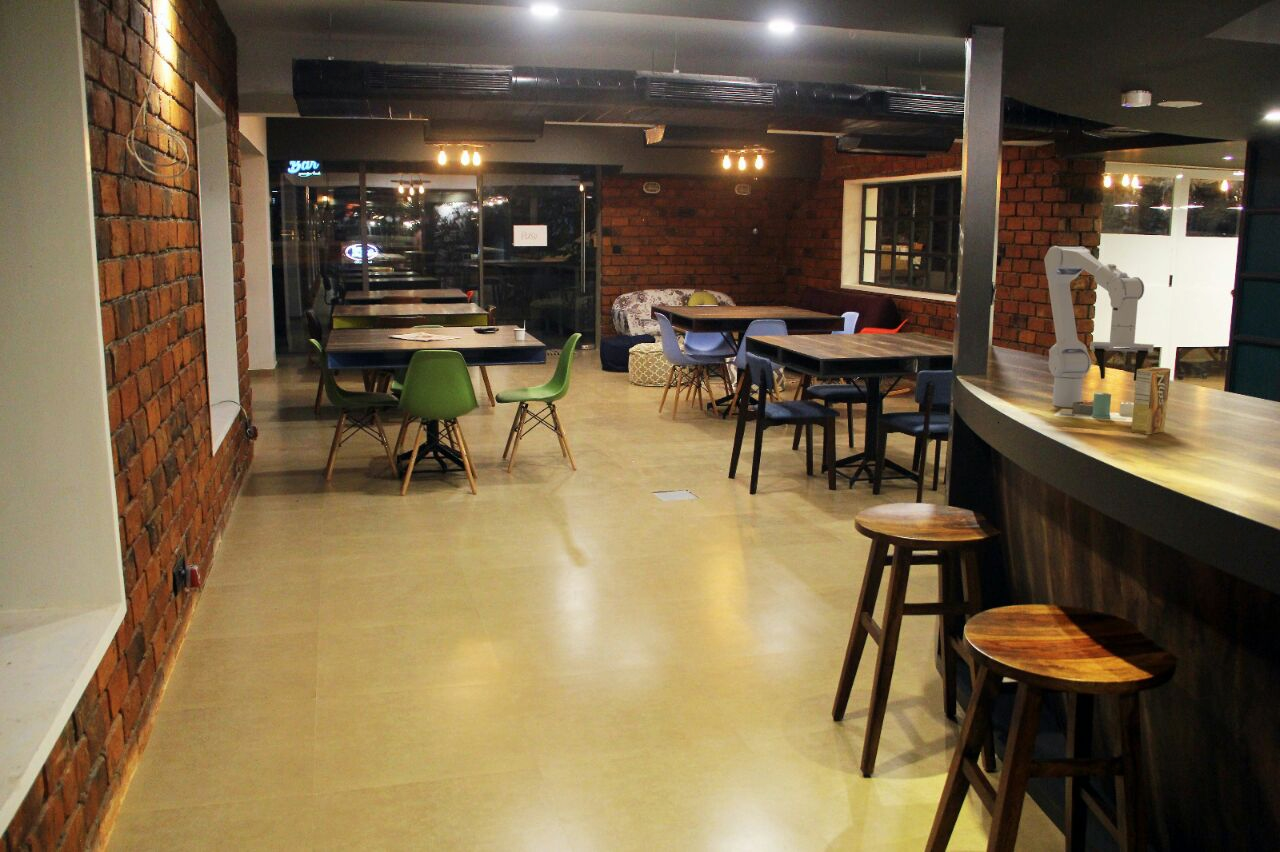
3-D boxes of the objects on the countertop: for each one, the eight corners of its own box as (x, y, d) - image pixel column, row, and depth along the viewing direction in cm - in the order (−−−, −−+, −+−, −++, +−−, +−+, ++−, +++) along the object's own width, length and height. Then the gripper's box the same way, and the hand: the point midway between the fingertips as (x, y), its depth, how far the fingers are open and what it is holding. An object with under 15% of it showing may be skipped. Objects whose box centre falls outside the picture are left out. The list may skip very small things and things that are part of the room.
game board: (1061, 412, 288) (1062, 397, 287) (1152, 419, 277) (1153, 403, 277) (1052, 419, 275) (1053, 403, 275) (1146, 427, 264) (1148, 410, 264)
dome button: (1079, 407, 284) (1080, 399, 283) (1102, 409, 281) (1103, 400, 280) (1076, 410, 279) (1077, 401, 278) (1100, 411, 276) (1100, 403, 276)
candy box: (1148, 429, 261) (1153, 366, 259) (1165, 431, 258) (1171, 368, 255) (1130, 433, 256) (1135, 368, 253) (1148, 435, 252) (1153, 370, 250)
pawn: (1092, 415, 276) (1094, 392, 275) (1111, 417, 273) (1113, 393, 272) (1090, 417, 272) (1092, 394, 271) (1109, 419, 270) (1111, 395, 269)
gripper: (1090, 325, 272) (1086, 379, 274) (1153, 328, 265) (1148, 382, 267) (1094, 324, 278) (1090, 376, 280) (1156, 326, 271) (1151, 380, 273)
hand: (1118, 379), depth 274 cm, fingers open, 7 cm apart
